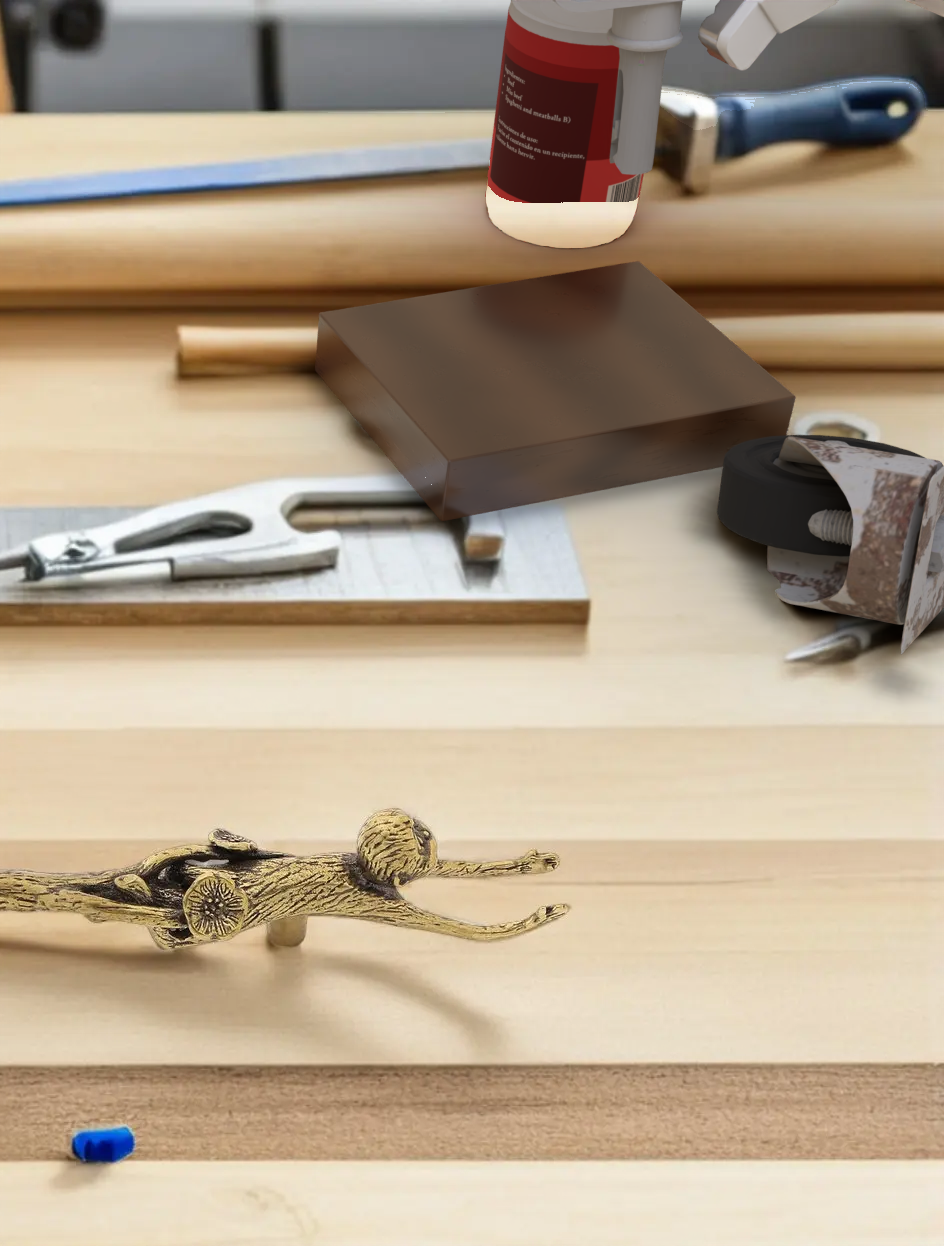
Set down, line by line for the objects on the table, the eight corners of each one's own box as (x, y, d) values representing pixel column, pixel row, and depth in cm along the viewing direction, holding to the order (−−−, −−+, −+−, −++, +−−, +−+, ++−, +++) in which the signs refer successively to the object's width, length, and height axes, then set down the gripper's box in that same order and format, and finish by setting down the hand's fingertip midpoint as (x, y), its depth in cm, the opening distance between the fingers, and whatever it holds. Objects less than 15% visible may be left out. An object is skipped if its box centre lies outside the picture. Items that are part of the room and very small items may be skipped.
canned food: (628, 189, 109) (666, -26, 101) (641, 258, 102) (681, 35, 95) (480, 181, 109) (507, -34, 102) (484, 250, 103) (512, 27, 96)
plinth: (628, 319, 98) (638, 260, 96) (781, 458, 89) (797, 396, 87) (313, 372, 94) (318, 312, 92) (440, 525, 84) (448, 461, 82)
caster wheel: (749, 528, 89) (992, 572, 84) (652, 606, 80) (916, 659, 75) (770, 373, 86) (1023, 409, 81) (671, 436, 78) (947, 481, 73)
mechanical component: (484, 169, 77) (502, -120, 71) (742, 136, 78) (782, -149, 72) (513, 198, 74) (535, -98, 68) (779, 164, 76) (823, -129, 70)
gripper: (696, -434, 75) (449, -109, 78) (1165, -305, 62) (850, 82, 65) (762, -313, 80) (528, -10, 83) (1212, -169, 67) (916, 187, 69)
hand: (672, 32), depth 73 cm, fingers closed on mechanical component, 3 cm apart
